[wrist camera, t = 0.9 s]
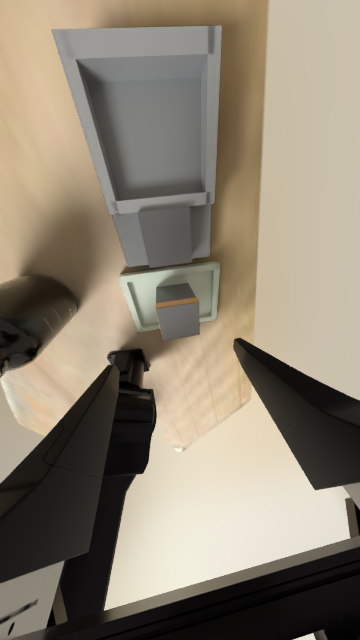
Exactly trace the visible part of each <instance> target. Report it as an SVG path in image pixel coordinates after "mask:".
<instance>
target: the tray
mask: <svg viewBox="0 0 360 640" xmlns="http://www.w3.org/2000/svg"><path fill="white" fill-rule="evenodd" d="M219 275H220V262H218V261H212V262H205V263H198V264H190V265H183V266H176V267H168V268H161V269H154V270H147V271H139V272H132V273H125V274H120V275H119V276H118V279H119V282H120V284H121V287H122V290H123V293H124V295H125V298H126V301H127V303H128V306H129V309H130V312H131V314H132V317H133V320H134V323H135V325H136V328H137V331H138V333H139V332H145V331H151V330H157V329H160V326H159V322H158V317H157V313H156V309H155V304H156V287H163V286H170V285H177V284H183V283H188V284H189V285H190V287H191V289H192V291H193V292H194V294H195V296H196V297H197V298H198V300H199V318H200V322H206V321H212V320H216V314H217V301H218V288H219Z"/></svg>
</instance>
